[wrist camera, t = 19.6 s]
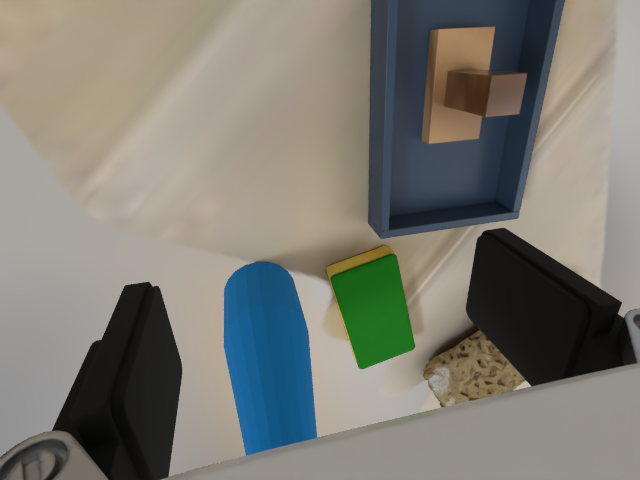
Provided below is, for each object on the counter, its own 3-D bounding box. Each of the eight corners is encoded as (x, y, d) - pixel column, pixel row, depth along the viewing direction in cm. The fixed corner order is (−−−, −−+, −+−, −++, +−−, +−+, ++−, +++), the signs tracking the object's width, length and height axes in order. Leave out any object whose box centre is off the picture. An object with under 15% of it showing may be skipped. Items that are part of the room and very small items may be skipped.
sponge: (438, 389, 55) (580, 338, 50) (453, 437, 47) (620, 382, 43) (399, 323, 50) (550, 259, 46) (409, 364, 43) (589, 294, 38)
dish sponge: (387, 243, 40) (396, 254, 38) (407, 335, 47) (416, 349, 44) (324, 266, 39) (330, 278, 37) (353, 356, 46) (360, 371, 44)
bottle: (255, 248, 37) (322, 768, 10) (309, 284, 40) (466, 750, 14) (209, 300, 38) (164, 869, 12) (265, 331, 42) (329, 831, 15)
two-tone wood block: (429, 29, 31) (484, 24, 24) (484, 27, 32) (551, 21, 25) (421, 140, 35) (466, 161, 28) (469, 135, 36) (524, 154, 29)
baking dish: (372, -105, 27) (392, -126, 23) (551, -102, 29) (590, -120, 26) (368, 223, 38) (380, 239, 35) (495, 205, 41) (518, 218, 38)
